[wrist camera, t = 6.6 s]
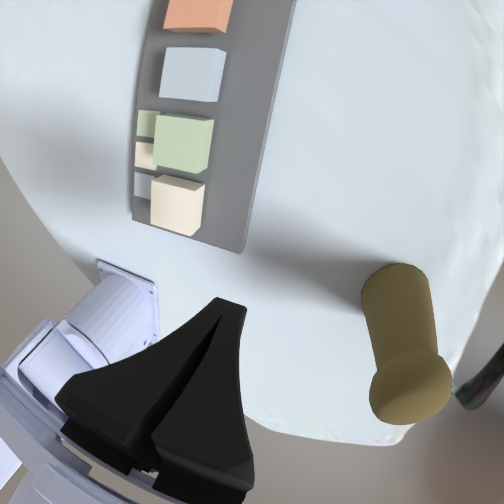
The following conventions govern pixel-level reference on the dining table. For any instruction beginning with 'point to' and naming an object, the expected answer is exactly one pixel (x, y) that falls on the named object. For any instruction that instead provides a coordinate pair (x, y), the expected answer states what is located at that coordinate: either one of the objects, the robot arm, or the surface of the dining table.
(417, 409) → the cork
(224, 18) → the key terracotta
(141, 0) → the dining table surface
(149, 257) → the dining table surface
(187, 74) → the key blue
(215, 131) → the keypad base
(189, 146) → the key sage
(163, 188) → the key cream
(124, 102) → the dining table surface
